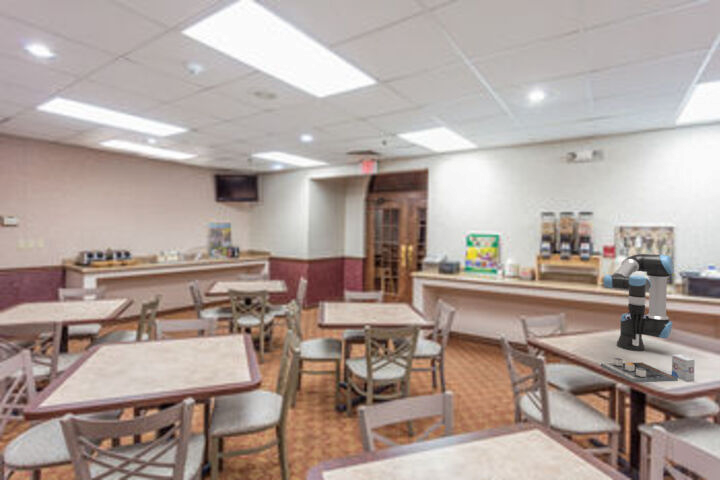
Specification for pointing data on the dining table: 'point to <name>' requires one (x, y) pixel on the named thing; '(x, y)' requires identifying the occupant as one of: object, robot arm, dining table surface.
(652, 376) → the panel
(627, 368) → the breaker mid
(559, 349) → the dining table surface
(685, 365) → the ink box
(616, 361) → the breaker
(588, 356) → the dining table surface
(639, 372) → the breaker
